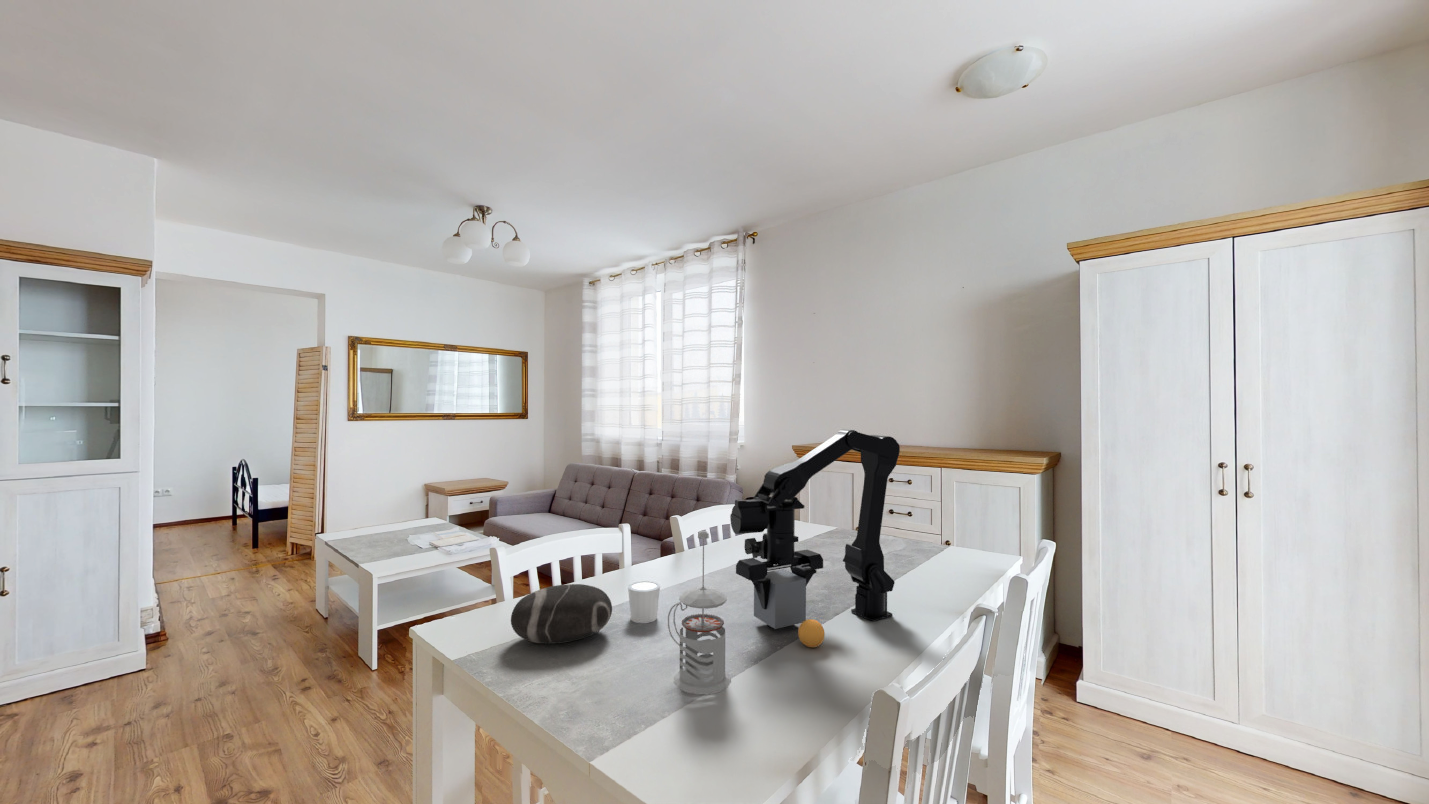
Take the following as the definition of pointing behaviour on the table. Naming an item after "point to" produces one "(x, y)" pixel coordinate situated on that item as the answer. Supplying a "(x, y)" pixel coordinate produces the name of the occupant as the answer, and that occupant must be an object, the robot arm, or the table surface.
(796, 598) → the grey matte cube
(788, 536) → the robot arm
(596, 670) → the table surface
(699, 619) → the french press
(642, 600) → the white tapered cup
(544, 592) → the decorative stone
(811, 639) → the ball
